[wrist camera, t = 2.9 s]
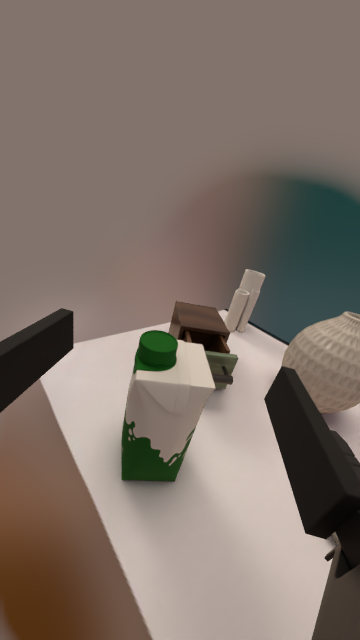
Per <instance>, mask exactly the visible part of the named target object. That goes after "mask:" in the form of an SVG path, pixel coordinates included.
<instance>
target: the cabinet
mask: <svg viewBox="0 0 360 640" xmlns="http://www.w3.org/2000/svg"><path fill="white" fill-rule="evenodd" d="M184 330H190V331H197V332H204V333H211V334H218V335H222V336H223V338H224V340H225V342H227V340H228V337H229V335H230V332H229V330H228V329H227V327H226V325H225V323H224V322H223V320H222V318H221V316H220V315H219V313H218V311H217V310H216V308H213V307H207V306H200V305H194V304H189V303H183V302H177V301H176V303H175V308H174V312H173V316H172V321H171V325H170V329H169V334H171V335H172V336H174V337H175V338H176V339H177V340H181V338H182V334H183V331H184Z"/></svg>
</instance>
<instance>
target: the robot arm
mask: <svg viewBox="0 0 360 640" xmlns="http://www.w3.org/2000/svg"><path fill="white" fill-rule="evenodd" d="M72 349H73V311H70V310H66V309H59V310H58V311H56V312H54V313H52V314H50V315H49V316H47V317H45V318H43V319H41V320H39V321H37V322H36V323H34V324H32V325H30V326H28V327H27V328H25V329H23V330H21V331H19V332H17V333H16V334H14V335H12V336H10V337H8V338H7V339H5V340H3V341H1V342H0V412H2V411H3V410H4V409H5V408H6V407H7V406H8V405H9V404H11V403H12V402H13V401H14V400H15V399H16V398H18V397H19V396H20V395H21V394H22V393H23V392H24V391H25V390H27V389H28V387H30V386H31V385H32V384H33V383H34V382H36V381H37V380H38V379H39V378H40V377H41V376H42V375H44V374H45V373H46V372H47V371H48V370H49V369H50V368H51V367H53V366H54V365H55V364H56V363H57V362H58V361H59V360H60V359H62V358H63V357H64V356H65V355H66V354H67V353H68V352H70V351H71V350H72ZM264 400H265V403H266V406H267V410H268V413H269V416H270V419H271V423H272V426H273V429H274V432H275V436H276V439H277V442H278V445H279V449H280V452H281V455H282V458H283V462H284V465H285V468H286V471H287V475H288V478H289V481H290V484H291V488H292V491H293V494H294V498H295V501H296V504H297V507H298V511H299V514H300V517H301V520H302V524H303V527H304V530H305V533H306V534H309V535H313V536H316V537H320V538H323V539H327V538H328V537H329V536H331V535H332V534H333V533H334V532H336V535H337V537H338V540H339V542H340V544H339V545H338V546H337V547H335V548H334V549H333V550H332V551H330V552H329V553H328V554H327V555H326V556H325V559H326V560H327V561H329V560H330V559H332V558H333V560H332V564H331V568H330V572H329V576H328V579H327V583H326V587H325V591H324V594H323V598H322V602H321V606H320V610H319V613H318V617H317V621H316V625H315V629H314V632H313V636H312V640H360V463H359V462H358V460H357V458H355V455H354V454H353V452H352V450H351V449H350V447H349V446H348V444H347V443H346V442H345V441H344V439H343V438H342V437H341V436H340V435H339V434H338V433H337V432H335V431H332V430H330V429H329V427H328V426H327V424H326V422H325V421H324V419H323V417H322V415H321V414H320V412H319V410H318V409H317V407H316V405H315V403H314V402H313V400H312V398H311V397H310V395H309V393H308V391H307V390H306V388H305V386H304V385H303V383H302V381H301V379H300V378H299V376H298V374H297V373H296V371H295V369H292V368H288V367H284V366H282V367H281V369H280V370H279V372H278V374H277V376H276V378H275V380H274V382H273V384H272V385H271V387H270V389H269V391H268V393H267V395H266V397H265V399H264Z"/></svg>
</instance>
